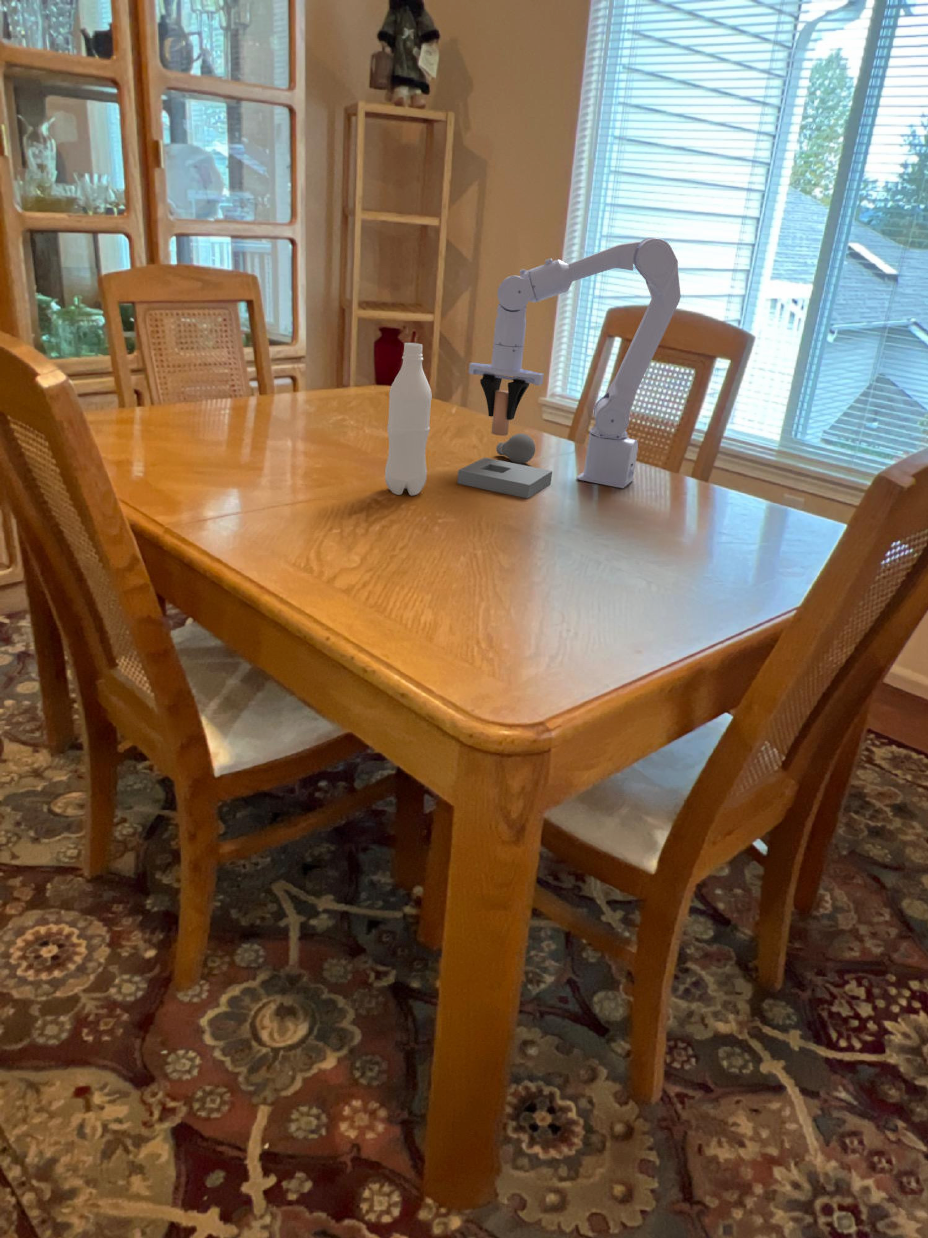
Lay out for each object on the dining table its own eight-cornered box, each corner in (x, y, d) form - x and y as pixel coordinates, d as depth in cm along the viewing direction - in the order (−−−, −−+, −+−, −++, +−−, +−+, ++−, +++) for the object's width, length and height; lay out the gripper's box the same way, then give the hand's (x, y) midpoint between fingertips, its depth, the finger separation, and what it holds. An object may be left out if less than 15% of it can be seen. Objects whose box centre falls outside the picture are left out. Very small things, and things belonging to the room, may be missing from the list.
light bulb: (515, 444, 187) (546, 443, 179) (503, 469, 186) (533, 469, 178) (496, 428, 183) (526, 427, 175) (483, 453, 182) (513, 453, 174)
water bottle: (419, 500, 152) (429, 349, 141) (379, 494, 153) (386, 344, 143) (429, 489, 158) (439, 344, 148) (390, 483, 159) (398, 339, 149)
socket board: (550, 483, 168) (552, 470, 167) (527, 498, 158) (529, 484, 157) (483, 469, 173) (484, 457, 172) (457, 483, 163) (458, 470, 162)
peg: (510, 433, 173) (514, 392, 170) (503, 436, 171) (508, 394, 167) (495, 430, 174) (499, 389, 171) (488, 433, 172) (492, 391, 168)
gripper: (552, 347, 166) (543, 420, 172) (482, 337, 172) (475, 408, 177) (539, 351, 160) (530, 426, 166) (466, 340, 166) (460, 413, 171)
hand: (501, 417), depth 171 cm, fingers closed on peg, 3 cm apart
